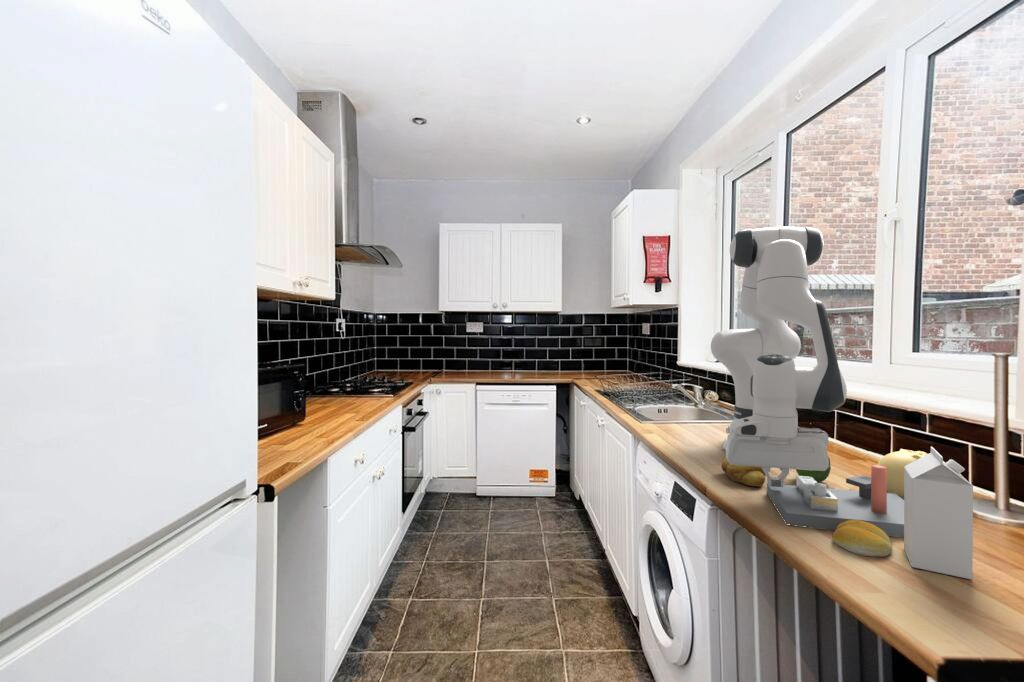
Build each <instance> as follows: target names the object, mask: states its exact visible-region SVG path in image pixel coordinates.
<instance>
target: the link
mask: <svg viewBox="0 0 1024 682" xmlns="http://www.w3.org/2000/svg"><path fill="white" fill-rule="evenodd" d="M815 483H818V482H816V481H815V480H814V479H813V478H812V477H809V476H799V475H796V486H797V487H798V489H799V490H800V491H801V492H802V493H803V494H804V500H805V502H806V503H807V504H808V505H809V507H810V508H811V509H818V510H829V511H838V499H837V498H836V497H835V496H834V495H833V494H832V493H831V492H830V491H826V497H824V496H815Z"/></svg>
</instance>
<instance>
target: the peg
mask: <svg viewBox="0 0 1024 682" xmlns="http://www.w3.org/2000/svg"><path fill="white" fill-rule="evenodd" d="M870 468H871V469H870V471H871V472H870V475H871V476H870V477H871V510H872V511H873V512H876V513H880V514H886V513H887V468H886V467H884V466H879V465H877V464H873V465H870Z"/></svg>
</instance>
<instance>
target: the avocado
mask: <svg viewBox="0 0 1024 682" xmlns="http://www.w3.org/2000/svg"><path fill="white" fill-rule="evenodd" d="M828 460H829V467H828V468H827V469H826V470H825V471H815V470H800V469H795V471H796V473H797V474H798V475H797V476H809V477H812V478H813V479H814V480H815V481H816V482H817V483H821V482H823V481H826V480H827V478H828V477H829V475H830V472H831V469H832V468H831V459H830V457H829V456H828Z"/></svg>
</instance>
